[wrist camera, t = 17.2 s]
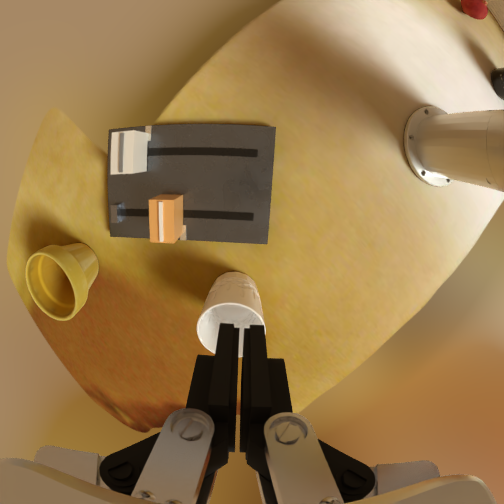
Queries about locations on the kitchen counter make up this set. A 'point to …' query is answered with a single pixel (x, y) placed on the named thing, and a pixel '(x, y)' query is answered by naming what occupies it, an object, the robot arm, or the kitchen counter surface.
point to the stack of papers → (497, 10)
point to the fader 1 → (129, 152)
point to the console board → (199, 181)
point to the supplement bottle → (498, 81)
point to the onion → (475, 8)
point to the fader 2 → (166, 218)
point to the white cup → (229, 308)
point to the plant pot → (61, 278)
